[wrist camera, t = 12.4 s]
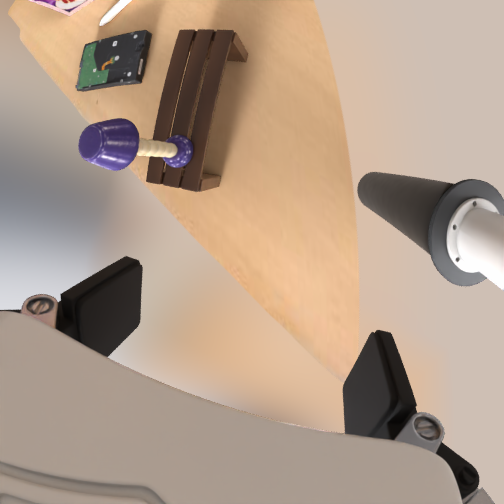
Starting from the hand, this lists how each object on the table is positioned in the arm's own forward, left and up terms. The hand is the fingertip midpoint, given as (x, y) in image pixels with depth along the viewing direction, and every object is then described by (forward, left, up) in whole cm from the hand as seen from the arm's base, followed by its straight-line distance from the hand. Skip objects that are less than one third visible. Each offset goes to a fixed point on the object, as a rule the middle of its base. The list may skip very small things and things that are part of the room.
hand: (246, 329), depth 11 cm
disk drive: (+36, -20, -34) cm, 54 cm away
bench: (+15, -11, -34) cm, 39 cm away
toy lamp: (+15, -5, -25) cm, 30 cm away
